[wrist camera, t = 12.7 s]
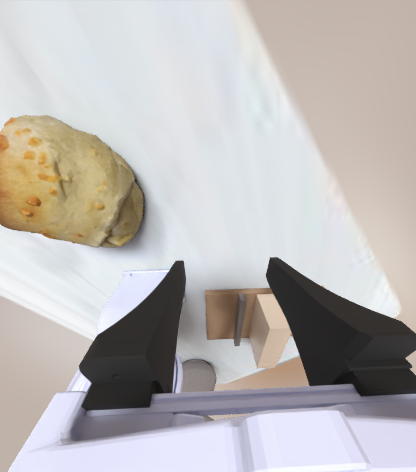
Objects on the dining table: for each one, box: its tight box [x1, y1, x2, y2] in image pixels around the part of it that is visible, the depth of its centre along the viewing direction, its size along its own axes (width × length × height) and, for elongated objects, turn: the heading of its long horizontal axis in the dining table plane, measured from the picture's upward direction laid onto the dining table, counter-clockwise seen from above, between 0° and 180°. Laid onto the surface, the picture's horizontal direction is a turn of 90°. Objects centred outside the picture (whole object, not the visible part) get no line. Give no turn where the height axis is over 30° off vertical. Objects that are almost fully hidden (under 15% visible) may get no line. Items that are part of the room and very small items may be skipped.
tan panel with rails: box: [206, 286, 324, 346], centre depth 30 cm, size 22×15×2 cm
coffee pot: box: [181, 360, 216, 422], centre depth 34 cm, size 21×12×15 cm, turn 132°
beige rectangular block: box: [249, 294, 291, 368], centre depth 27 cm, size 4×13×6 cm, turn 1°
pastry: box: [0, 115, 144, 248], centre depth 15 cm, size 14×12×8 cm
